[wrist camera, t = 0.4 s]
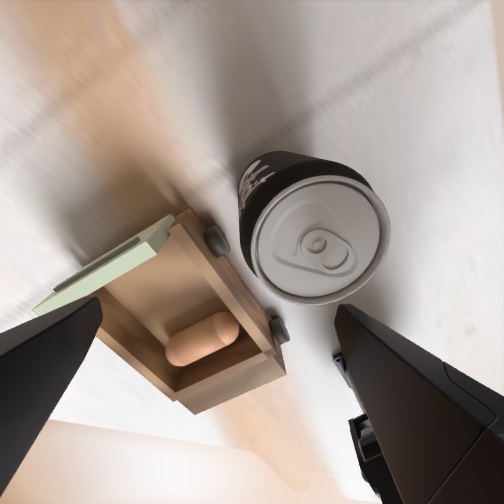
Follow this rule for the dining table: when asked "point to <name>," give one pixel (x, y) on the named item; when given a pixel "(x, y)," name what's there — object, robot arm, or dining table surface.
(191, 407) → the wooden drawer box
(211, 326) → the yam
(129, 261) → the tailgate
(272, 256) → the beverage can
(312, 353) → the dining table surface
